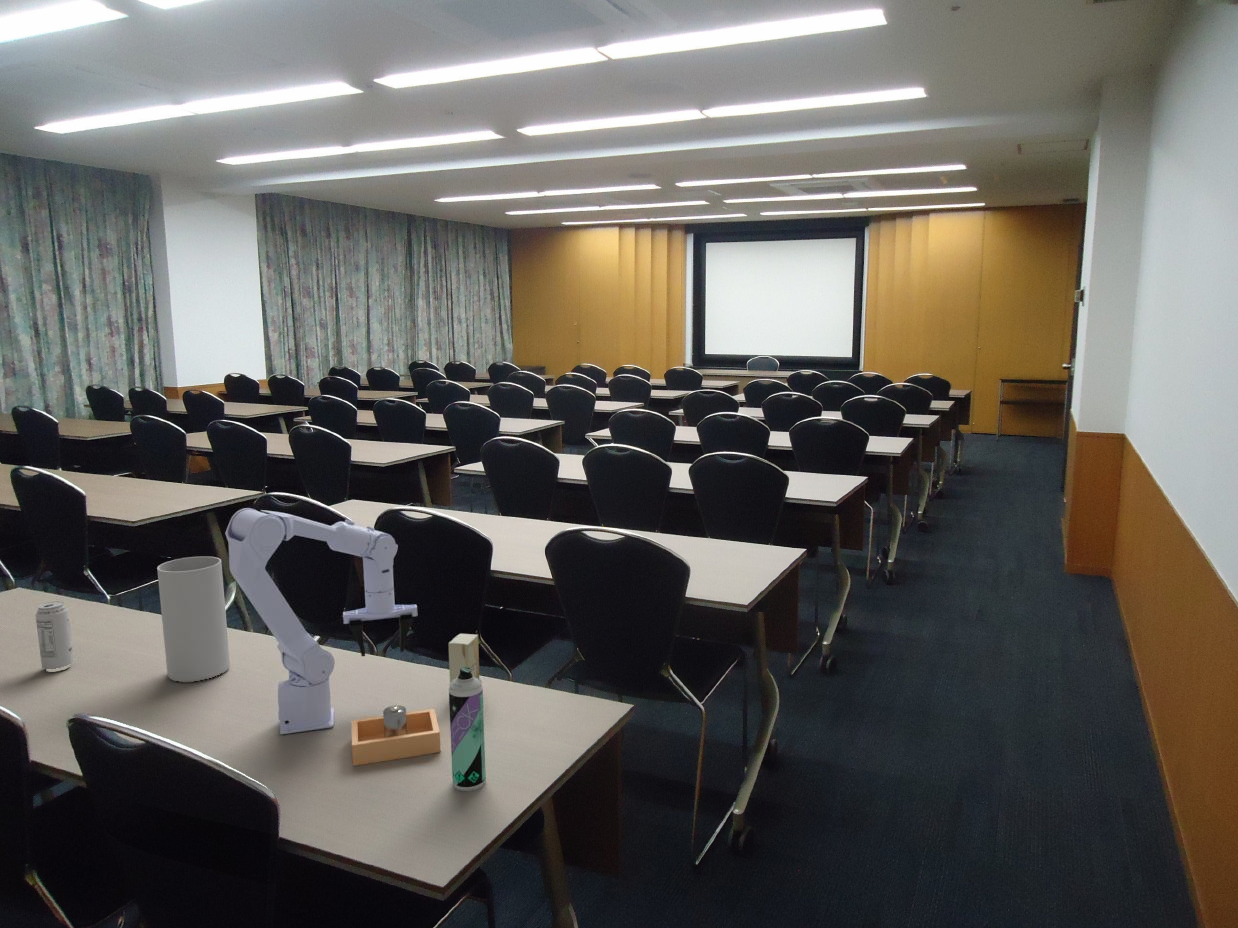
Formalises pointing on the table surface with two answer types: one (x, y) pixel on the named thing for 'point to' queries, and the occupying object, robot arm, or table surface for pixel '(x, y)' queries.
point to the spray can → (467, 731)
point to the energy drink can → (54, 635)
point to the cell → (395, 721)
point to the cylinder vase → (193, 618)
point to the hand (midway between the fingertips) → (382, 652)
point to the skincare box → (463, 655)
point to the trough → (395, 738)
